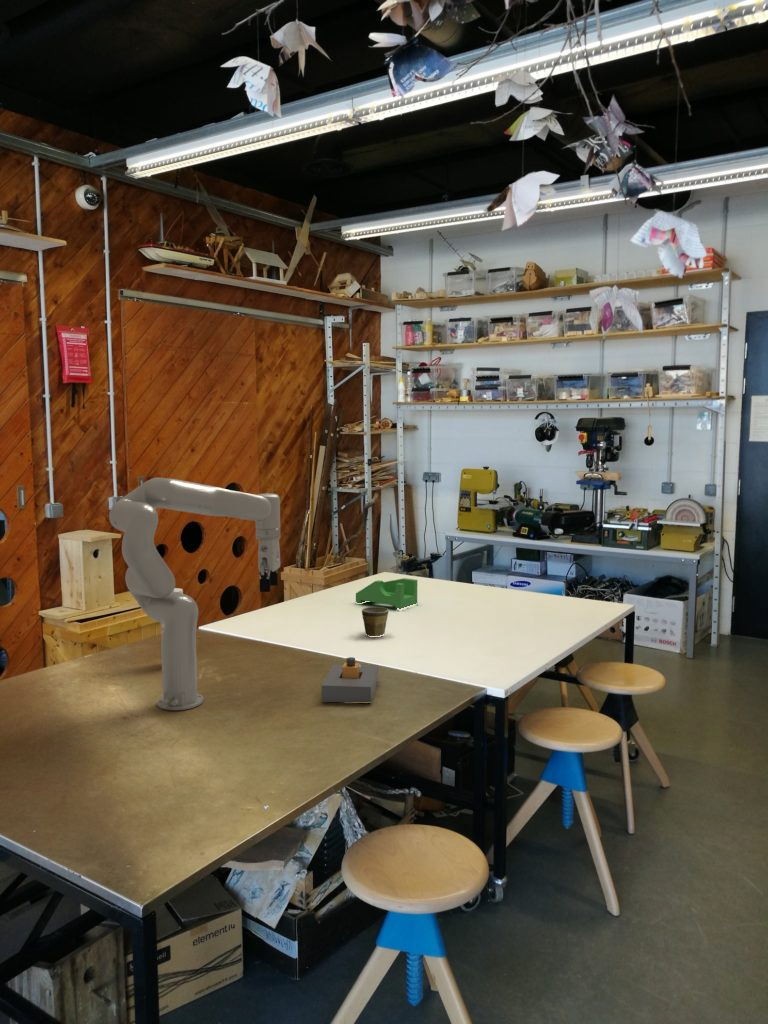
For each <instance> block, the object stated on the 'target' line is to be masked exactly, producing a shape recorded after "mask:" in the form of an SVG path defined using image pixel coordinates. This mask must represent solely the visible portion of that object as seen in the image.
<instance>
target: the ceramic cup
mask: <svg viewBox="0 0 768 1024" xmlns="http://www.w3.org/2000/svg"><path fill="white" fill-rule="evenodd" d="M361 614H362V615H361V616H362V620H363V625H364V632H365V635H366V634H367V635H369V636H380V635H383V634H384V635H385V632H386V626H387V622H388V621H387V620H388V616H389V609H388V608H386V607H383V606H368V607H363V608H362V609H361Z"/></svg>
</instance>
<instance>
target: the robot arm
mask: <svg viewBox="0 0 768 1024" xmlns="http://www.w3.org/2000/svg"><path fill="white" fill-rule="evenodd" d="M280 499H281V498H280V496H279V494H278V493H270V492H269V493H258V494H252V493H247V492H242V491H236V490H232V489H231V490H230V489H226V488H223V487H218V486H216V485H215V486H214V485H209V484H204V483H203V484H202V483H197V482H192V481H187V480H181V479H177V478H167V477H153V478H151V479H149V480H146V481H145V482H143V483H142V484H140V485H139V486H137V487H136V488H134V489H133V490H132V491H130V492H129V493H127V494H126V495H124V496H122V497H121V498H120V499H118V500H117V501H116V502H115V503H114V504H112V506H111V508H110V510H109V514H108V518H109V522H110V525H111V526H112V527H113V528H115V529H116V530H118V531H119V532H124V533H123V536H122V541H121V554H122V557H123V560H124V561H125V563H126V564H127V566H128V568H127V569H126V571H125V578H124V579H125V584H126V587H127V589H128V591H129V592H130V594H131V595H132V597H133V598H134V600H135V601H136V602H137V604H138V606H140V608H141V609H142V610H143V612H144V614H145V615H146V616H147V617H148V618H149V619H151V620H153V621H154V622H158V623H160V624H161V623H162V624H164V625H165V627H164V631H163V634H162V633H161V639H160V652H161V681H162V682H161V684H162V687H161V688H162V696H161V697H159V698H157V701H156V703H157V704H156V705H157V707H158V708H160V709H163V710H166V711H184V710H190V709H193V708H197V707H198V706H200V705H201V704H202V703H203V702H204V696H203V695H202V694H200V693H198V673H197V672H198V670H197V668H198V667H197V666H198V665H197V627H198V625H197V624H198V619H199V607H198V604H197V602H196V601H195V600H194V598H193V597H191V596H189V595H188V594H184V593H183V594H182V593H178V592H174V589H175V588H176V578H175V576H174V574H173V572H172V571H171V569H170V568H169V566H168V564H167V563H166V562H165V560H164V559H163V557H162V556H161V554H160V553H159V550H158V549H157V548H156V546H155V542H154V540H155V534H156V530H157V528H158V524H159V515H158V511H157V509H158V508H159V509H164V510H170V511H171V510H172V511H179V512H184V513H192V514H198V515H203V516H212V517H225V518H226V517H227V518H235V519H239V520H247V521H254V522H255V540H257V541H258V546H257V547H258V549H257V553H258V554H257V558H258V559H257V561H258V562H257V563H258V564H257V565H258V571H259V592H260V593H270V592H271V590H272V589H271V587H273V586H274V587H275V586H278V584H279V576H278V574H279V573H278V569H280V568H281V549H280V539H281V500H280Z"/></svg>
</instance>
